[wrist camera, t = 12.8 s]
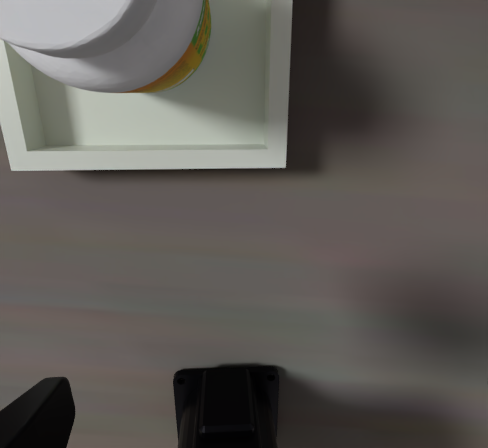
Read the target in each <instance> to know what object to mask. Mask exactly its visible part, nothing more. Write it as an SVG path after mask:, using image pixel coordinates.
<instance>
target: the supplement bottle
mask: <svg viewBox="0 0 488 448" xmlns="http://www.w3.org/2000/svg"><path fill="white" fill-rule="evenodd" d="M210 36H211V12H210V5H209V0H0V39H1V40H3V41H5V42H7V43H8V44H9V45H10V46H11V47H12V48H13V49H14V50H15V51H16V52H17V53H18V54H19V55H20V56H21V57H22V58H24V59H25V60H26V61H27V62H29V63H30V64H31V65H32V66H34V67H35V68H36V69H38V70H39V71H41V72H43V73H44V74H46V75H47V76H49V77H51V78H53V79H55V80H57V81H59V82H61V83H64V84H66V85H69V86H72V87H76V88H79V89H82V90H88V91H94V92H102V93H157V92H163V91H166V90H170V89H172V88H175V87H177V86H179V85H181V84H182V83H184V82H185V81H186V80H187V79H189V78H190V77H191V76H192V75H193V74H194V73H195V71H196V70H197V69H198V68H199V66H200V65H201V63H202V61H203V59H204V57H205V55H206V52H207V50H208V46H209V42H210Z"/></svg>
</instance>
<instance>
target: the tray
mask: <svg viewBox="0 0 488 448" xmlns="http://www.w3.org/2000/svg"><path fill="white" fill-rule="evenodd" d="M292 3H293V0H209V5H210V12H211V36H210V42H209V46H208V50H207V52H206V55H205V57H204V59H203V61H202V63H201V65H200V66H199V68H198V69H197V70H196V71H195V73H194V74H193V75H192V76H191V77H190V78H189V79H187V80H186V81H185V82H184V83H182V84H181V85H179V86H177V87H175V88H172V89H170V90H166V91H163V92H157V93H102V92H94V91H88V90H82V89H79V88H76V87H72V86H69V85H66V84H64V83H61V82H59V81H57V80H55V79H53V78H51V77H49V76H47V75H46V74H44V73H43V72H41V71H39V70H38V69H36V68H35V67H34V66H32V65H31V64H30V63H29V62H27V61H26V60H25V59H24V58H22V57H21V56H20V55H19V54H18V53H17V52H16V51H15V50H14V49H13V48H12V47H11V46H10V45H9V44H8V43H7V42H5V41H3V40H1V39H0V123H1V128H2V132H3V136H4V141H5V145H6V149H7V154H8V158H9V162H10V167H11V171H41V170H130V169H220V168H286V150H287V125H288V101H289V77H290V52H291V28H292Z"/></svg>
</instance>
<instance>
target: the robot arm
mask: <svg viewBox="0 0 488 448" xmlns="http://www.w3.org/2000/svg"><path fill="white" fill-rule="evenodd" d="M271 374H272V376H268V375H271ZM179 378H183V379H184V380H180V379H179ZM173 386H174V397H175V409H176V420H177V431H178V448H277V441H276V437H277V414H278V391H279V374H278V370H277V369H276V368H275V367H247V368H222V369H197V370H180V371H177V372H176V373H175V374H174V379H173ZM74 419H75V405H74V401H73V396H72V392H71V388H70V384H69V381H68V379H67V378H66V377H50V378H45V379H43V380H41V381H40V382H39V383H37V384H36V385H35V386H33V387H32V388H31V389H29V390H28V391H27V392H25V393H24V394H23V395H21V396H20V397H19V398H17V399H16V400H14V401H13V402H12V403H10V404H9V405H8V406H6V407H5V408H4V409H2V410H1V411H0V448H66V447H67V443H68V440H69V436H70V433H71V430H72V426H73V423H74Z"/></svg>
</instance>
